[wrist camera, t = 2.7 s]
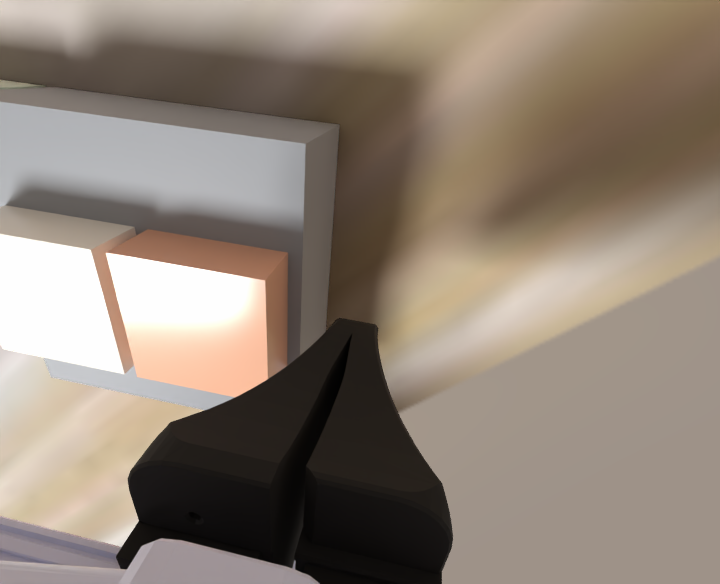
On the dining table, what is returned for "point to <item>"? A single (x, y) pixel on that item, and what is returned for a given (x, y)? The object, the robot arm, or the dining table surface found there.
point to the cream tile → (61, 289)
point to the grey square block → (178, 191)
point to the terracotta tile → (202, 310)
